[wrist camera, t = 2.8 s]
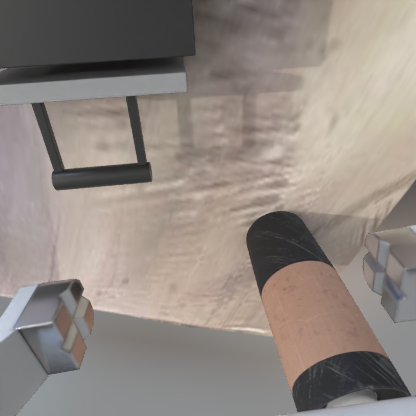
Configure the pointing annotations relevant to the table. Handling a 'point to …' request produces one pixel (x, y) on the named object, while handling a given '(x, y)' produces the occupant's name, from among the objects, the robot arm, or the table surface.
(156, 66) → the grey drawer
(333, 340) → the travel mug
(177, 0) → the dark grey box
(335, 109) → the table surface
